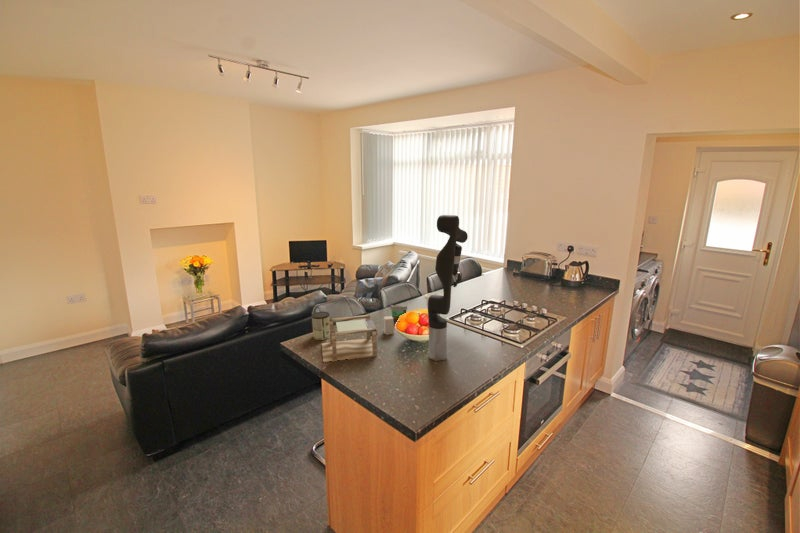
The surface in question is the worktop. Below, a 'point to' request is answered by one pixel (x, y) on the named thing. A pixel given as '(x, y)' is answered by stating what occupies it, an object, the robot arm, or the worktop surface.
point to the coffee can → (321, 325)
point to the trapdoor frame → (349, 343)
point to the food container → (397, 311)
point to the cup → (429, 296)
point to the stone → (388, 325)
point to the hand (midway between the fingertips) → (449, 284)
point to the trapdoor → (355, 325)
